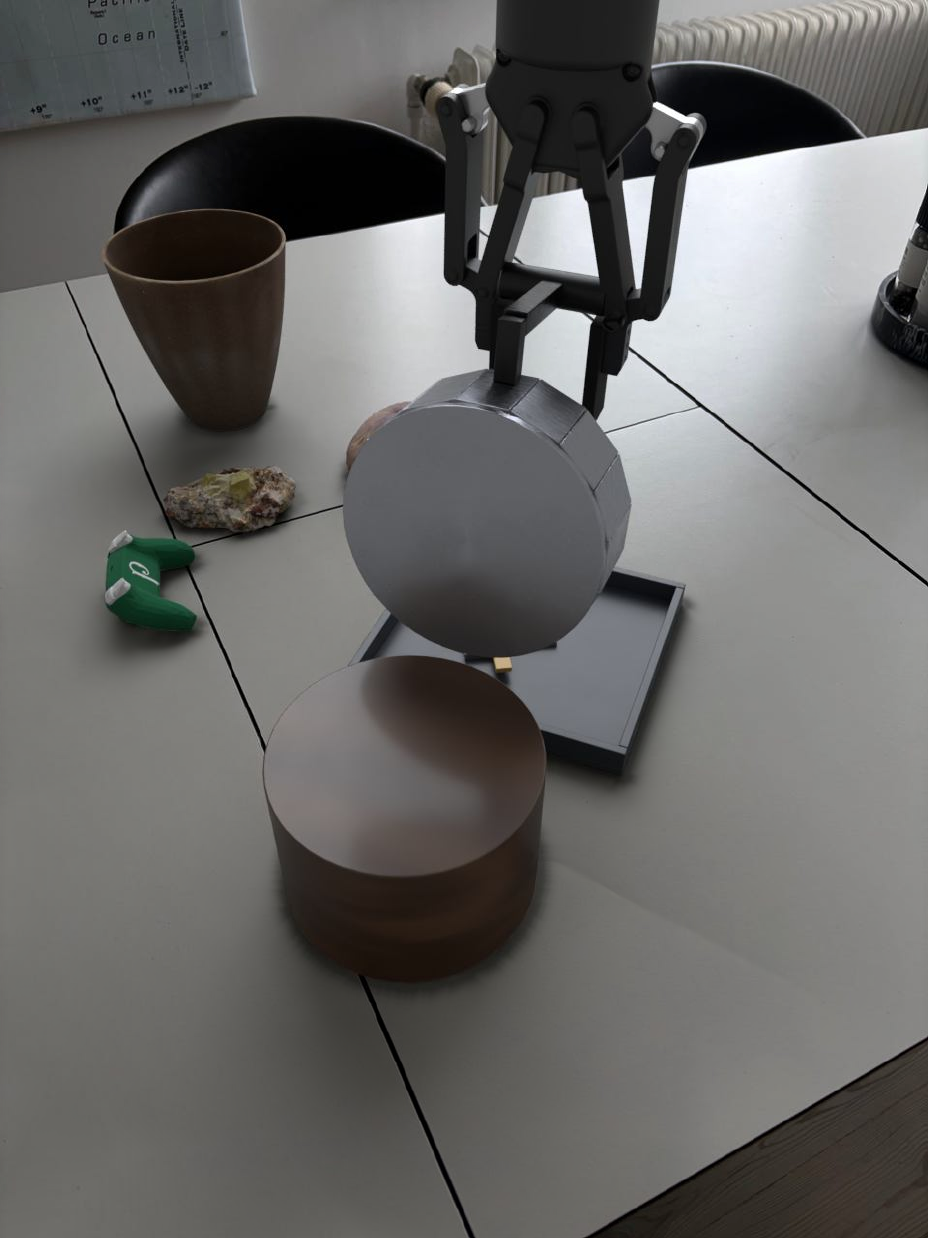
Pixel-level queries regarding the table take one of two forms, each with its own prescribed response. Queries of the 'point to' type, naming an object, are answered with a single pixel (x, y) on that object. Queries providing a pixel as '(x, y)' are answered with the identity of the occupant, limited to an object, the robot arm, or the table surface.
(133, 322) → the flower pot
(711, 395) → the table surface
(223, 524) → the mineral rock
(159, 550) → the gaming controller
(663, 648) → the tray
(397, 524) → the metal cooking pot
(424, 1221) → the table surface
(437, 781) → the stand
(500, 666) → the brass key
